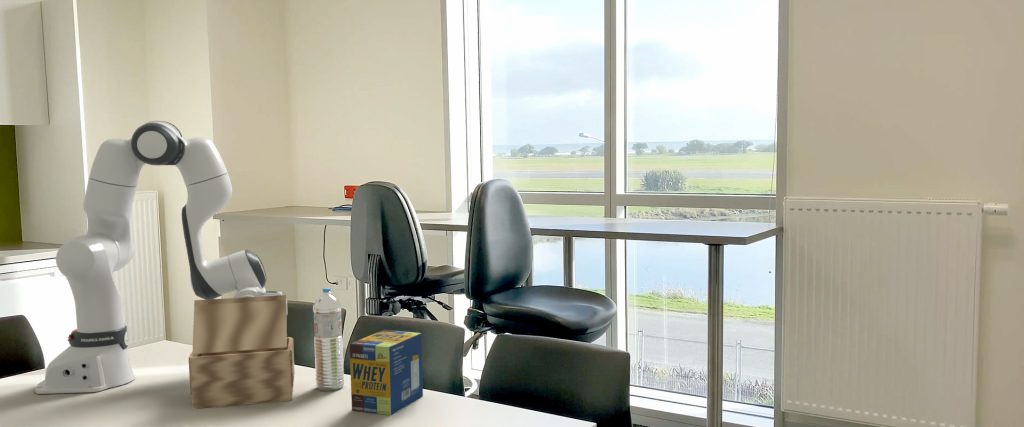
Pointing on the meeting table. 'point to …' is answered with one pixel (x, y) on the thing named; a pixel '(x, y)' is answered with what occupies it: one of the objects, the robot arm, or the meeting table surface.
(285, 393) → the carton
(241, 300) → the carton flap
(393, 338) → the protein box
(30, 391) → the meeting table surface
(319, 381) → the water bottle
